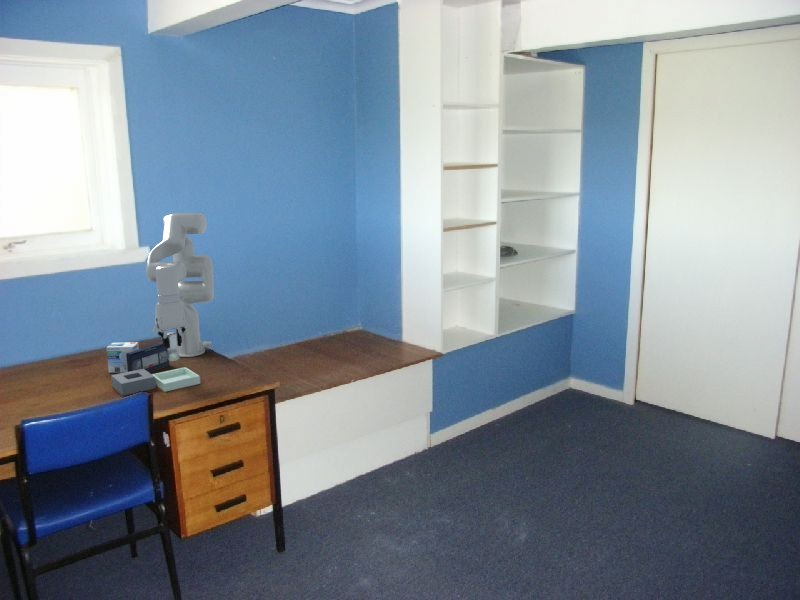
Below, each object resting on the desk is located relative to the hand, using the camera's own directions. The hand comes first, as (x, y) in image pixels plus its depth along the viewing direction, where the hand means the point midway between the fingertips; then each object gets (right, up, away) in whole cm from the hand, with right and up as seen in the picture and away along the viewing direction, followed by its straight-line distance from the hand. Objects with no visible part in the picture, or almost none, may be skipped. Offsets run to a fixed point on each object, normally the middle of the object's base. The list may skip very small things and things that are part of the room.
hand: (172, 346), depth 256 cm
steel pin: (0, -5, +1) cm, 5 cm away
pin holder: (-14, -15, -1) cm, 21 cm away
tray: (0, -14, +3) cm, 14 cm away
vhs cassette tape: (-15, -12, +17) cm, 25 cm away
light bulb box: (-25, -11, +19) cm, 33 cm away
